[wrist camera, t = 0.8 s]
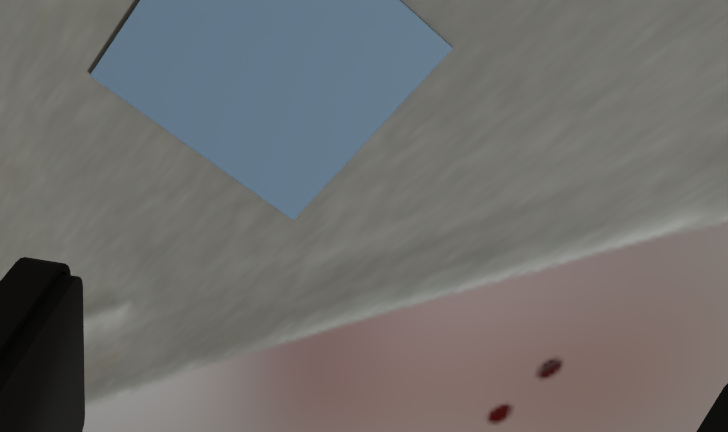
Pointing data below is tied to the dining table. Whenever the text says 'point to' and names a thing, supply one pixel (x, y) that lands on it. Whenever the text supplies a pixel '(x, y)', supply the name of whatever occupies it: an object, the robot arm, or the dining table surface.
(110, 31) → the dining table surface
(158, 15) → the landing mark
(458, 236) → the dining table surface
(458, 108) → the dining table surface
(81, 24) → the dining table surface
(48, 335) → the robot arm
